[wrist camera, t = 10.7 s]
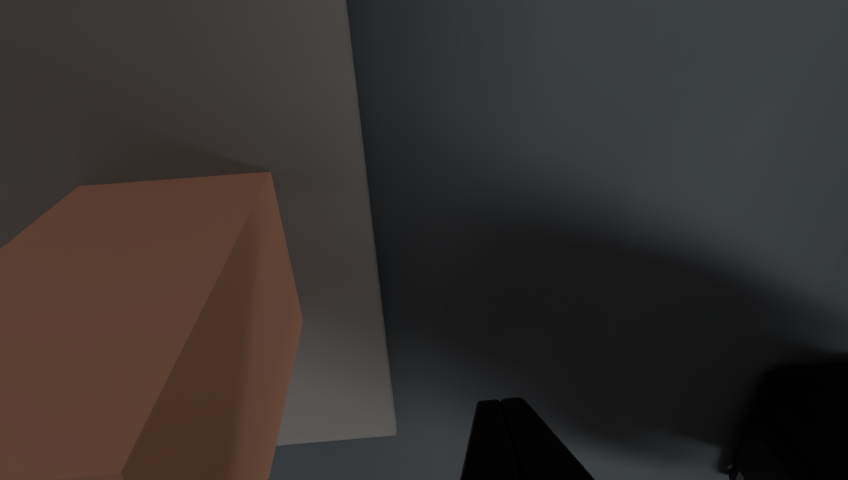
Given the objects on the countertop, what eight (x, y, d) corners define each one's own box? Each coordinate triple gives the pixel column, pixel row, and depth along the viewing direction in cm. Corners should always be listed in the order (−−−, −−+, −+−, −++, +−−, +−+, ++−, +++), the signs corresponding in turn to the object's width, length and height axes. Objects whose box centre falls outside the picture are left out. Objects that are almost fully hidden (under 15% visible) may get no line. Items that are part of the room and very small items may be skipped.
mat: (337, -74, 12) (335, -75, 11) (396, 421, 20) (396, 435, 19) (-505, -21, 11) (-549, -19, 11) (-95, 464, 19) (-108, 479, 19)
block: (270, 172, 14) (121, 472, 6) (303, 321, 16) (226, 669, 9) (78, 186, 14) (-328, 512, 6) (140, 334, 16) (-87, 700, 8)
